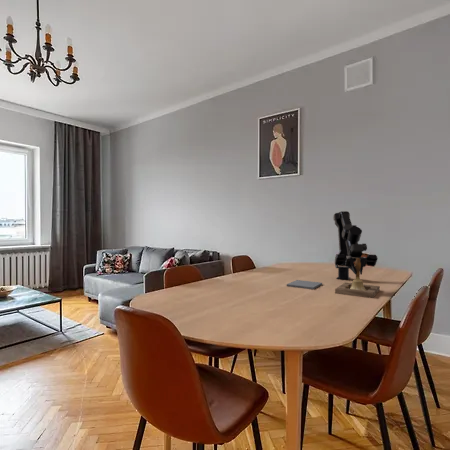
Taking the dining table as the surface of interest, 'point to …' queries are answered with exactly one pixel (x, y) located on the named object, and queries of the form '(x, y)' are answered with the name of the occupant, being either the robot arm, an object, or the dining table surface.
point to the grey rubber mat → (304, 284)
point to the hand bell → (357, 277)
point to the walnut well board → (345, 290)
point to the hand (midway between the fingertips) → (358, 274)
